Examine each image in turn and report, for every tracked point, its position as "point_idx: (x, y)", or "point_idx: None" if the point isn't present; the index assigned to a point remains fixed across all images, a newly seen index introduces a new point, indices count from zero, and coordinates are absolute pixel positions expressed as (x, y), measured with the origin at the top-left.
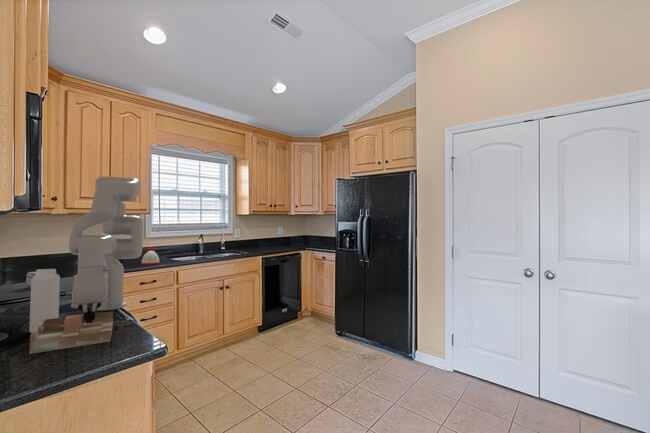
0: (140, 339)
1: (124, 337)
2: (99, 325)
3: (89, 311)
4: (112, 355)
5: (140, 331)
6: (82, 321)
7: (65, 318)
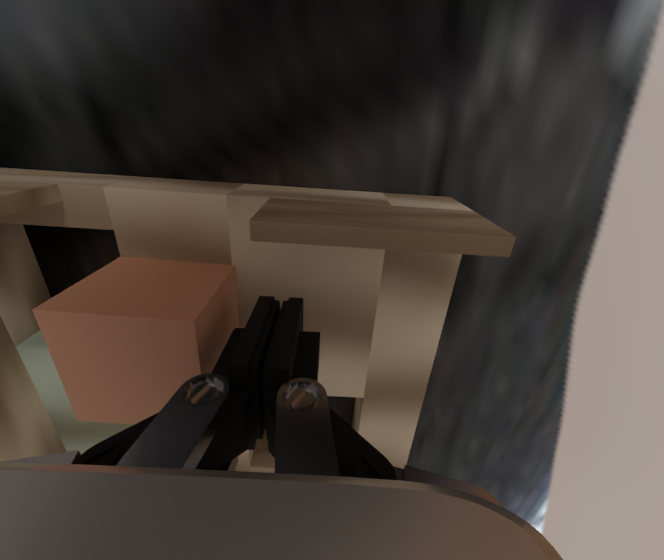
0: (504, 484)
1: (455, 438)
2: (355, 337)
3: (257, 408)
4: None
5: (550, 400)
6: (224, 304)
7: (71, 398)
